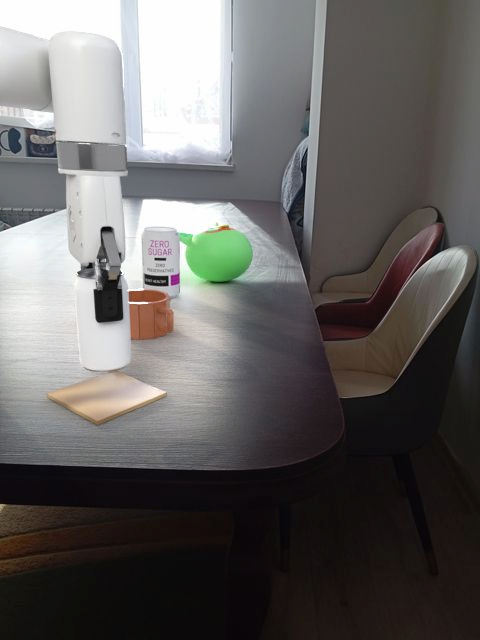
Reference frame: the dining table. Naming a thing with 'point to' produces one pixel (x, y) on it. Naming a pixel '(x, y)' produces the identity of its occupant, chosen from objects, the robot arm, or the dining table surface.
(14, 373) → the dining table surface
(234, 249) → the green teapot
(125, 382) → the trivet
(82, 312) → the can
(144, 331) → the mug
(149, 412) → the dining table surface
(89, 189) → the robot arm
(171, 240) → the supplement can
